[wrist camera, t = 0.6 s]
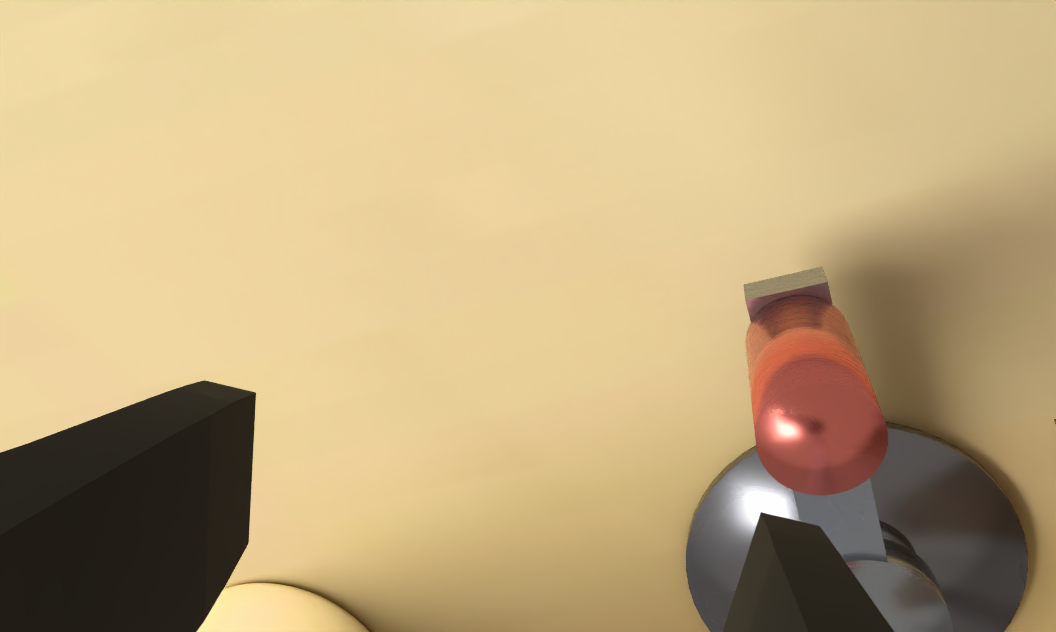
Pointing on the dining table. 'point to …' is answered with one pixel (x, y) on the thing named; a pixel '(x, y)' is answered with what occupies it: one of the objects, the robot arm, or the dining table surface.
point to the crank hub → (905, 518)
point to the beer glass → (276, 611)
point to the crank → (830, 439)
